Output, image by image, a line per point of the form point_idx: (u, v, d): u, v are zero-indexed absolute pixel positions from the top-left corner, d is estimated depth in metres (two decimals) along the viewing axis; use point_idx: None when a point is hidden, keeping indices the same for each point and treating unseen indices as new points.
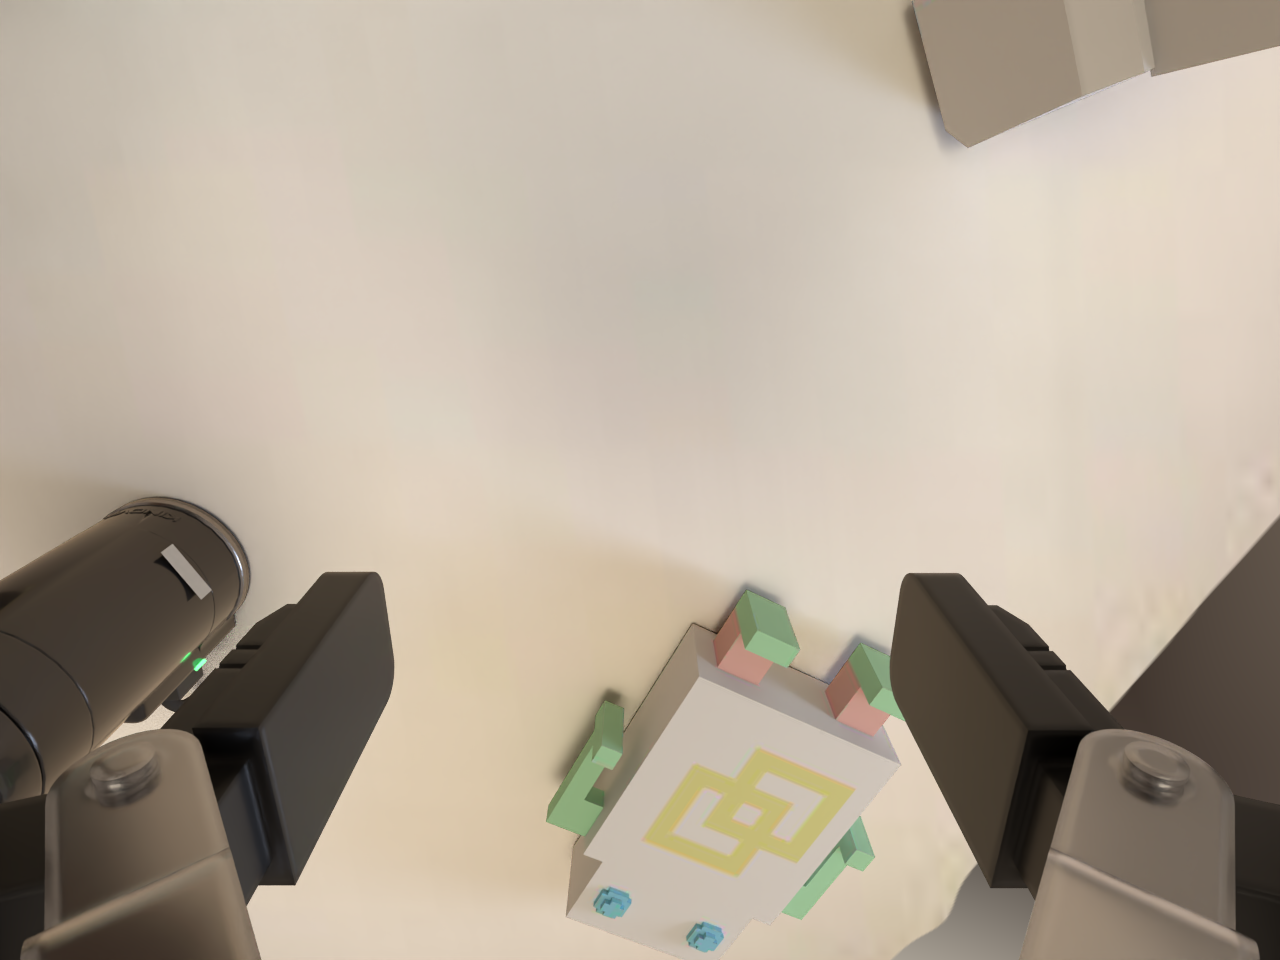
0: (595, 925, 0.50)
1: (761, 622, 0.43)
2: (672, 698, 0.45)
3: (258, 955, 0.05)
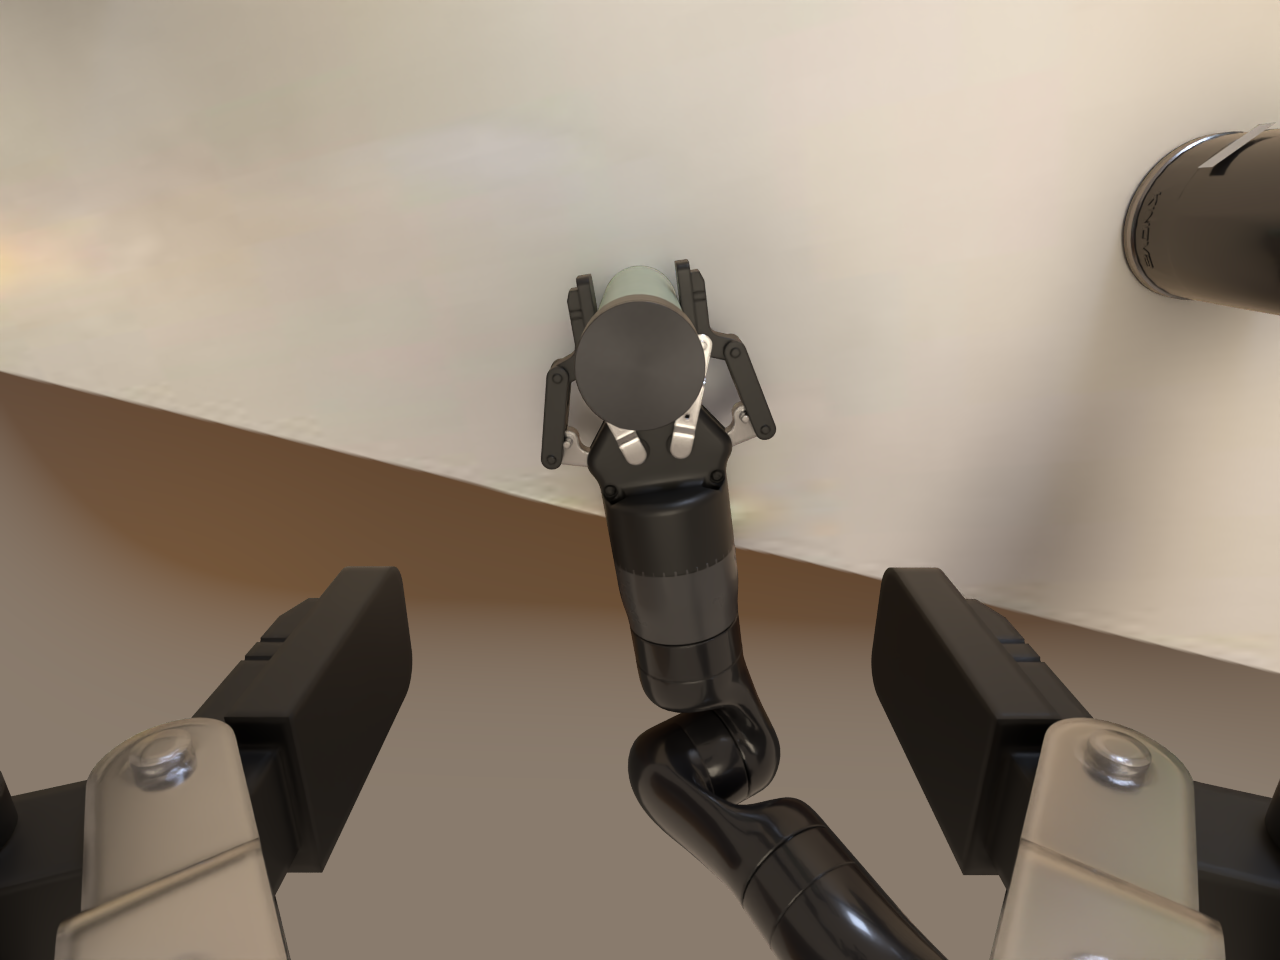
0: None
1: None
2: None
3: (283, 946, 0.05)
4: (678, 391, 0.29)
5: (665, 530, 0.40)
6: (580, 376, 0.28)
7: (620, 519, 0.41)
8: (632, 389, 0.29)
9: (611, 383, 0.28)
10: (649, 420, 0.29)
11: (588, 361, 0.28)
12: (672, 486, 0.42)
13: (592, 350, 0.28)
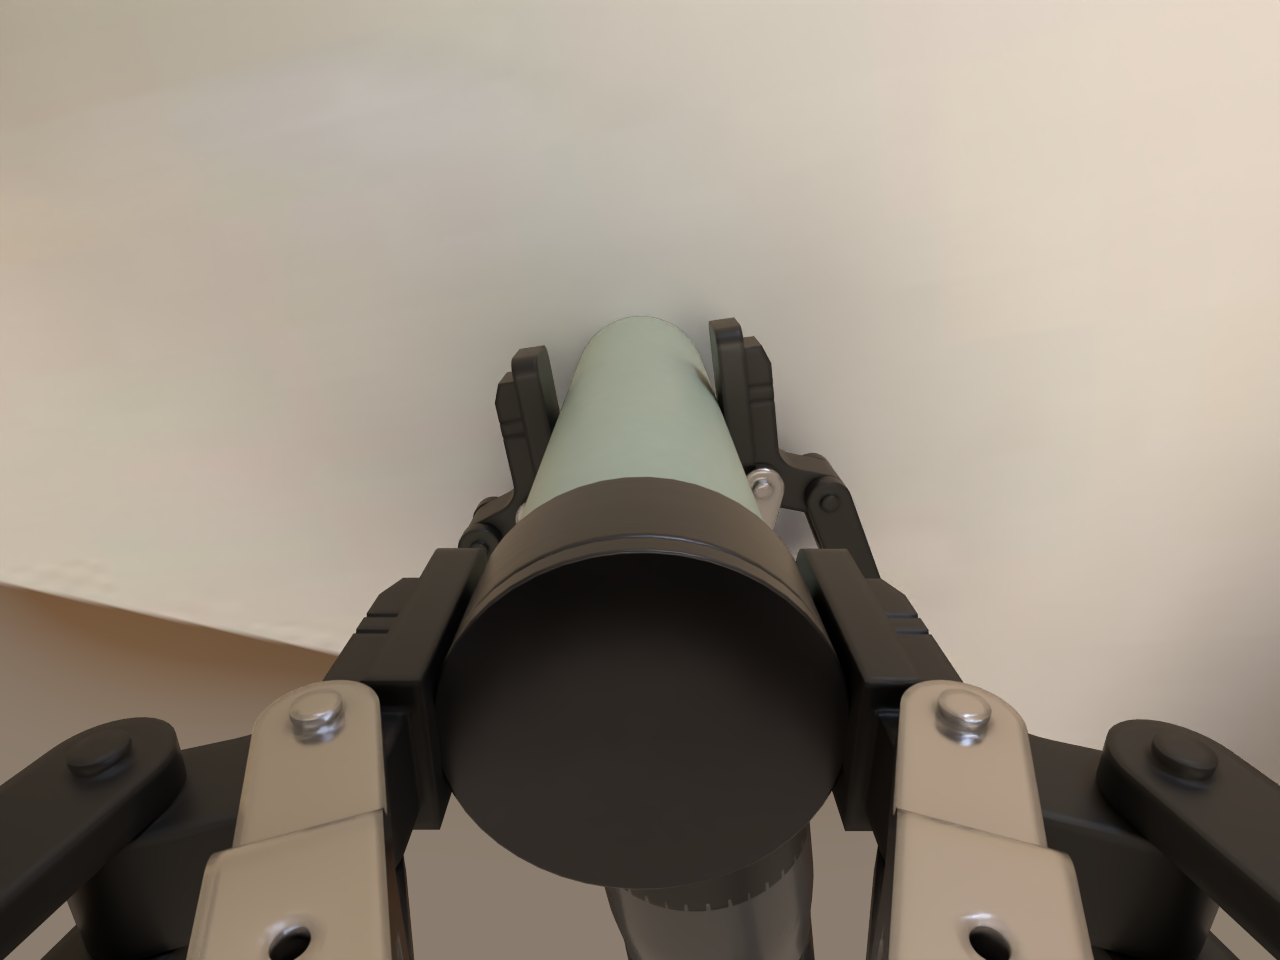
0: None
1: None
2: None
3: (388, 921, 0.05)
4: (761, 796, 0.09)
5: None
6: (453, 760, 0.09)
7: None
8: (617, 791, 0.09)
9: (552, 776, 0.09)
10: (670, 866, 0.10)
11: (476, 719, 0.09)
12: None
13: (487, 690, 0.09)
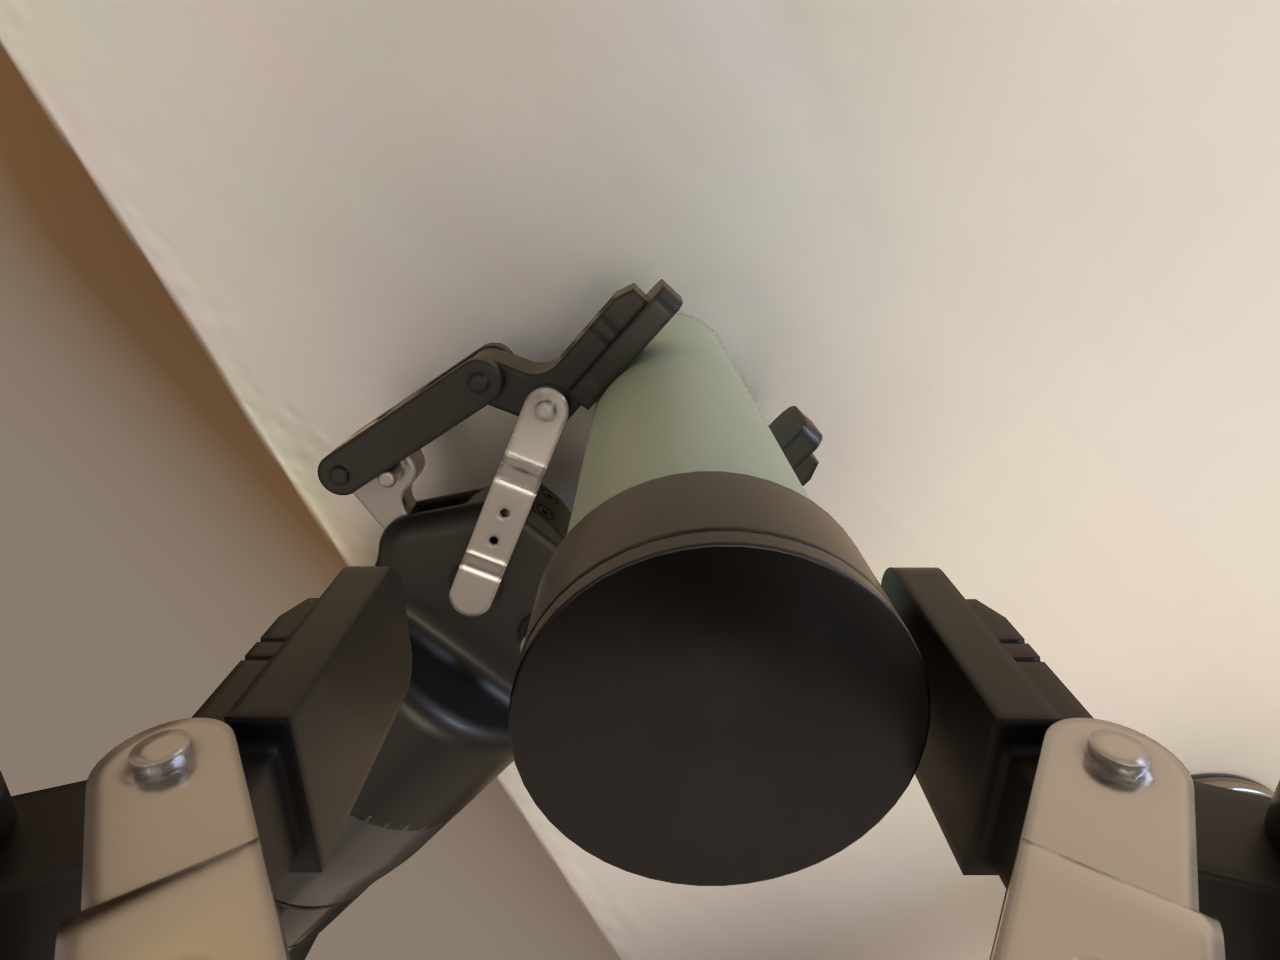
0: None
1: None
2: None
3: (282, 946, 0.05)
4: (866, 723, 0.09)
5: (399, 747, 0.20)
6: (583, 835, 0.09)
7: None
8: (735, 788, 0.09)
9: (671, 806, 0.09)
10: (834, 826, 0.09)
11: (575, 793, 0.09)
12: (473, 672, 0.22)
13: (564, 766, 0.09)
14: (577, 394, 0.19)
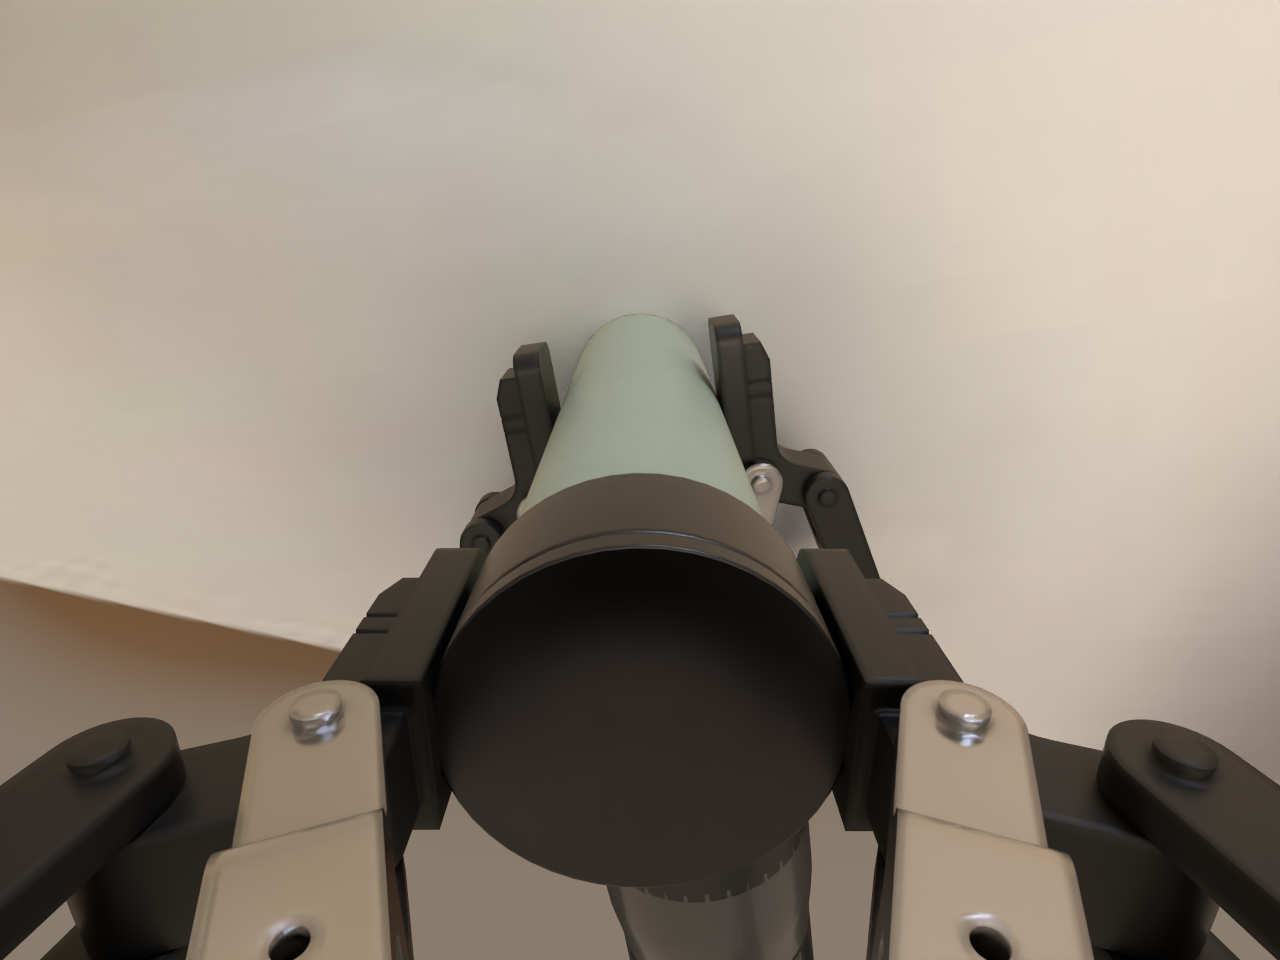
0: None
1: None
2: None
3: (388, 922, 0.05)
4: (729, 631, 0.08)
5: None
6: (655, 877, 0.10)
7: None
8: (706, 758, 0.09)
9: (683, 808, 0.09)
10: (818, 718, 0.09)
11: (611, 856, 0.10)
12: None
13: (579, 845, 0.09)
14: None
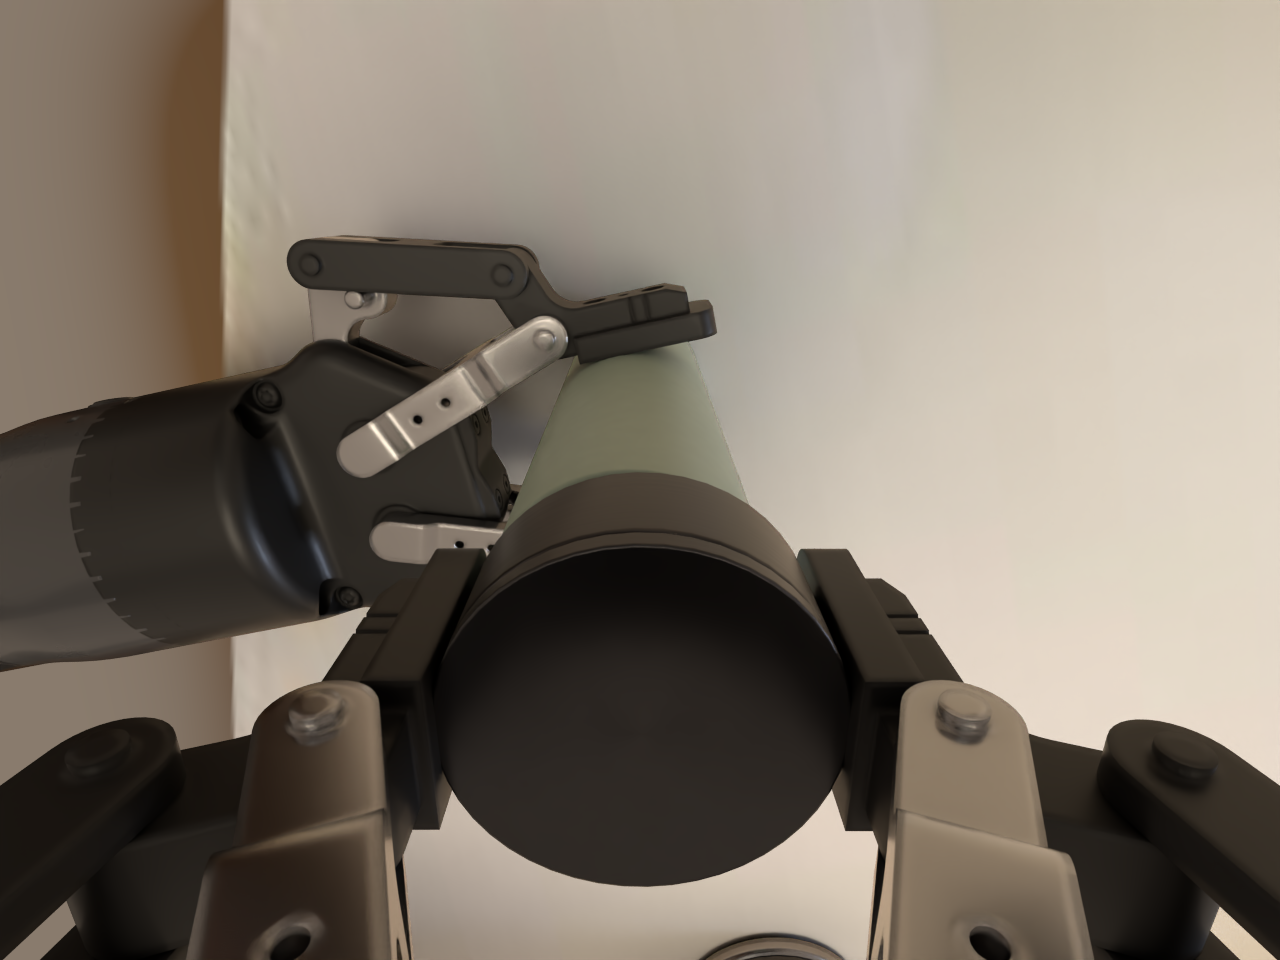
0: None
1: None
2: None
3: (388, 922, 0.05)
4: (729, 631, 0.08)
5: (196, 551, 0.18)
6: (656, 876, 0.10)
7: (199, 440, 0.18)
8: (707, 757, 0.09)
9: (683, 807, 0.09)
10: (818, 717, 0.09)
11: (611, 855, 0.10)
12: (308, 524, 0.20)
13: (579, 844, 0.09)
14: (580, 345, 0.19)
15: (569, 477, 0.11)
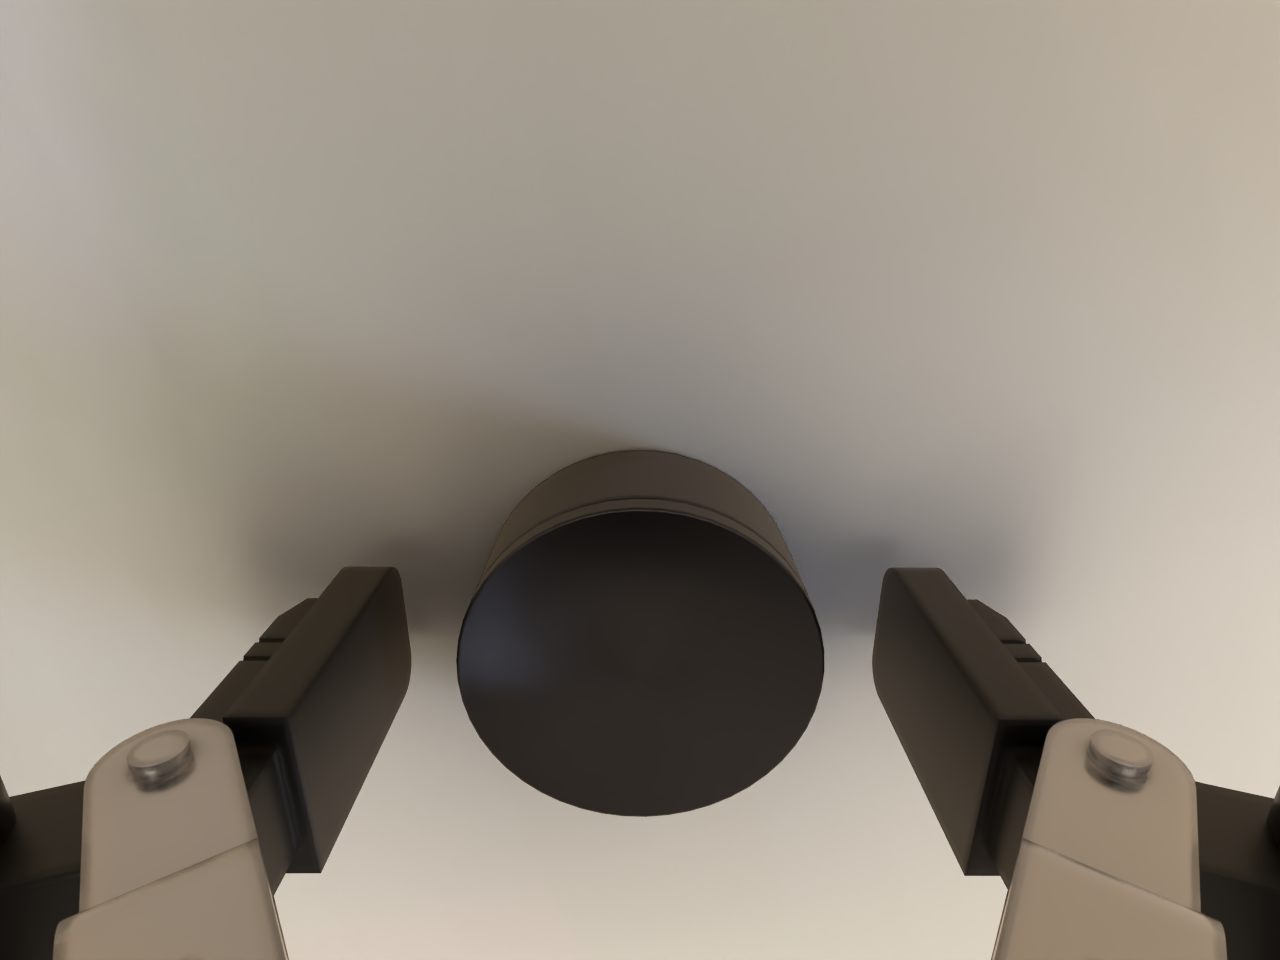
0: None
1: None
2: None
3: (281, 946, 0.05)
4: (716, 584, 0.10)
5: None
6: (653, 806, 0.11)
7: None
8: (697, 698, 0.10)
9: (677, 743, 0.11)
10: (794, 661, 0.10)
11: (614, 787, 0.11)
12: None
13: (586, 777, 0.11)
14: None
15: None
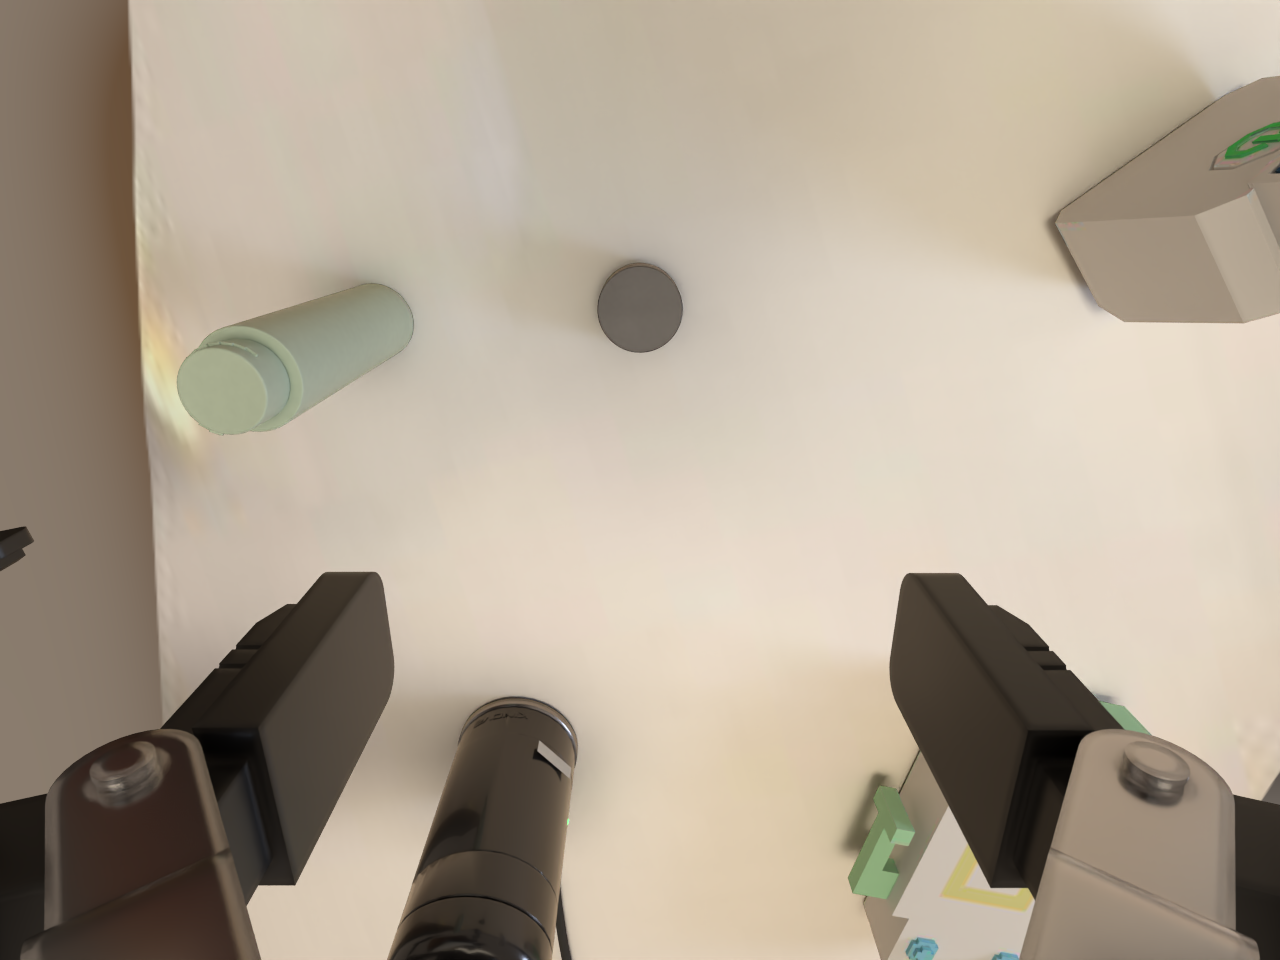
0: None
1: None
2: None
3: (258, 955, 0.05)
4: (657, 285, 0.43)
5: None
6: (643, 349, 0.45)
7: None
8: (653, 316, 0.44)
9: (648, 329, 0.44)
10: (675, 305, 0.44)
11: (633, 343, 0.44)
12: None
13: (626, 340, 0.44)
14: None
15: (218, 329, 0.30)
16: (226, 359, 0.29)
